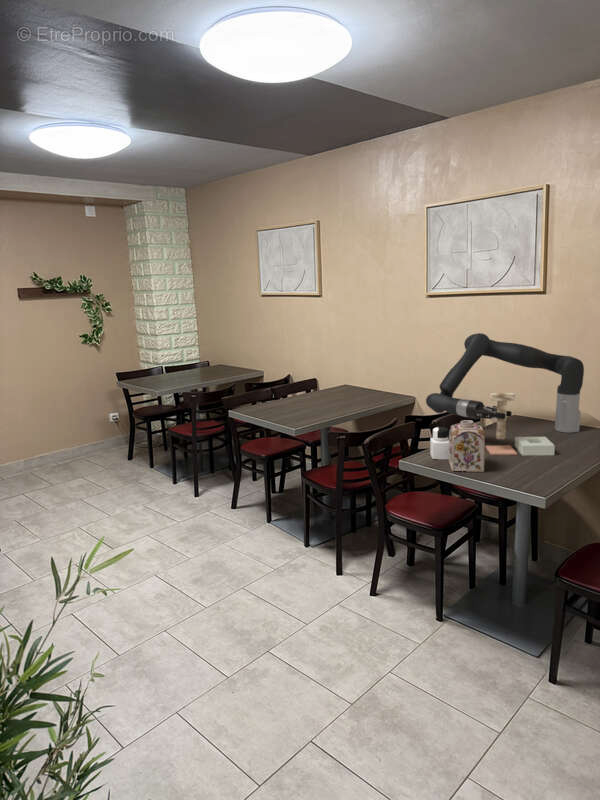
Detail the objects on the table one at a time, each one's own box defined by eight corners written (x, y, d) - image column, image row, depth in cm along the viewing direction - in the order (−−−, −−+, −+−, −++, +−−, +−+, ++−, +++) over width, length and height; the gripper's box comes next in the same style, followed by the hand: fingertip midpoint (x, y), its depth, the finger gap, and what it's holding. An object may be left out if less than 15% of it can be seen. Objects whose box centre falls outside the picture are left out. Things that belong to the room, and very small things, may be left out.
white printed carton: (448, 453, 226) (448, 425, 224) (450, 459, 219) (451, 430, 217) (430, 454, 227) (430, 425, 224) (432, 459, 220) (432, 430, 217)
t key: (511, 436, 226) (513, 392, 222) (512, 439, 224) (515, 394, 219) (488, 436, 228) (490, 393, 223) (489, 439, 225) (491, 394, 220)
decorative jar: (484, 472, 204) (485, 425, 200) (451, 472, 206) (452, 425, 202) (479, 461, 215) (480, 417, 211) (448, 461, 217) (449, 417, 213)
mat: (510, 446, 231) (510, 445, 231) (516, 454, 221) (516, 453, 221) (485, 447, 232) (485, 445, 232) (490, 454, 222) (490, 453, 222)
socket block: (544, 445, 230) (545, 436, 229) (554, 455, 218) (554, 445, 218) (514, 446, 232) (515, 436, 231) (522, 455, 220) (522, 445, 219)
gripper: (460, 403, 228) (499, 409, 216) (479, 397, 237) (517, 403, 225) (460, 420, 230) (498, 428, 217) (478, 414, 239) (516, 420, 227)
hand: (508, 415), depth 221 cm, fingers closed on t key, 4 cm apart
